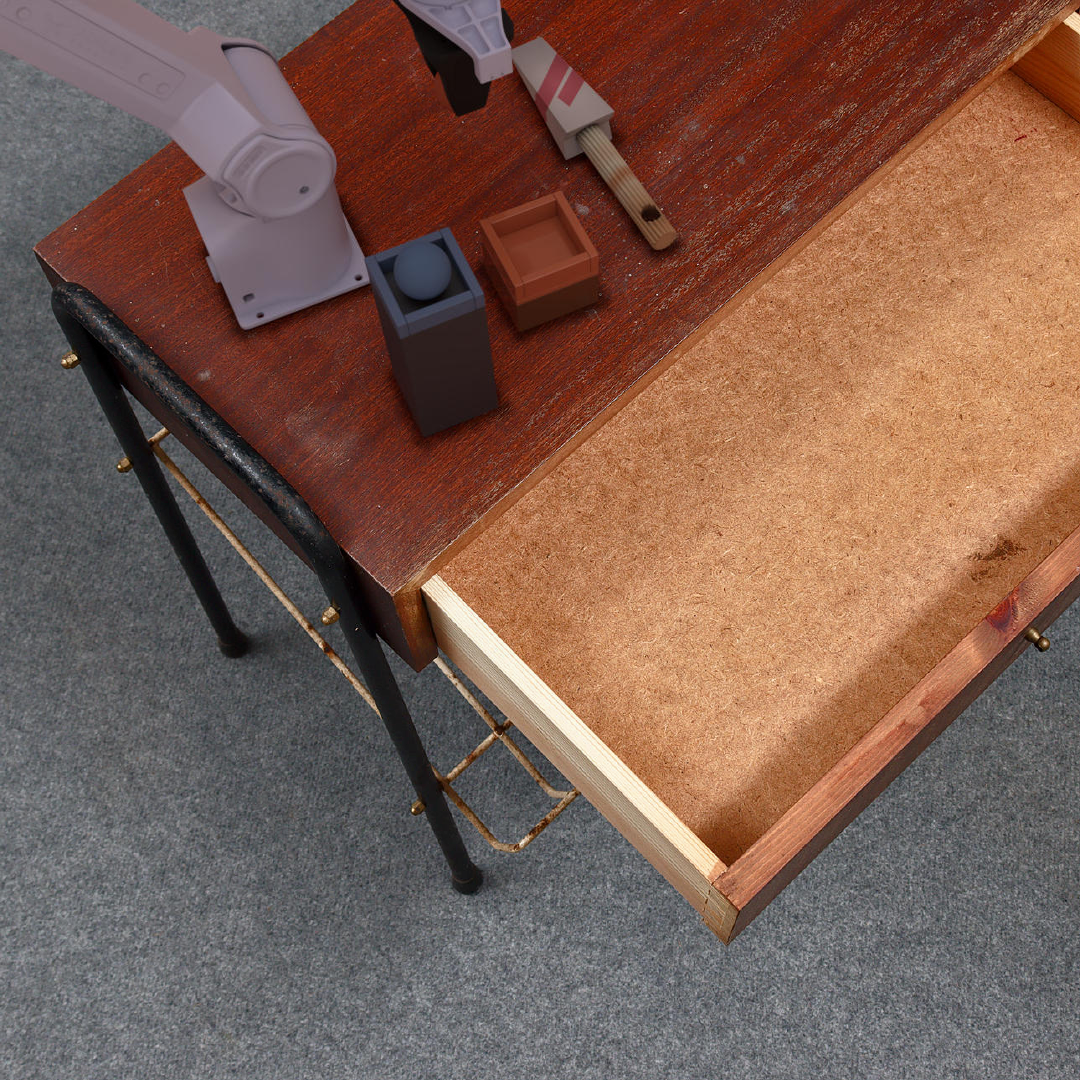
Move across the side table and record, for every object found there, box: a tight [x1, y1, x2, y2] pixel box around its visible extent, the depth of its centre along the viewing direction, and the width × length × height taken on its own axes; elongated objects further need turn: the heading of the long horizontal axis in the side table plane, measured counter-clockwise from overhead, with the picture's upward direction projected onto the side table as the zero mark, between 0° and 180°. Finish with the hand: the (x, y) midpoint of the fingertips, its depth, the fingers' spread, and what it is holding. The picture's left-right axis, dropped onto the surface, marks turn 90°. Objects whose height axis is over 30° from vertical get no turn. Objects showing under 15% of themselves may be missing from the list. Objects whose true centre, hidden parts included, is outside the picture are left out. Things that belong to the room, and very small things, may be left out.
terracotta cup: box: [478, 190, 600, 333], centre depth 83 cm, size 6×6×5 cm
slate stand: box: [364, 226, 499, 439], centre depth 76 cm, size 5×5×12 cm
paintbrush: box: [511, 36, 678, 251], centre depth 89 cm, size 4×3×20 cm
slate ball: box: [394, 242, 451, 300], centre depth 70 cm, size 3×3×3 cm
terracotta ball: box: [433, 72, 454, 113], centre depth 81 cm, size 3×3×3 cm
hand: (458, 89), depth 81 cm, fingers closed on terracotta ball, 3 cm apart
